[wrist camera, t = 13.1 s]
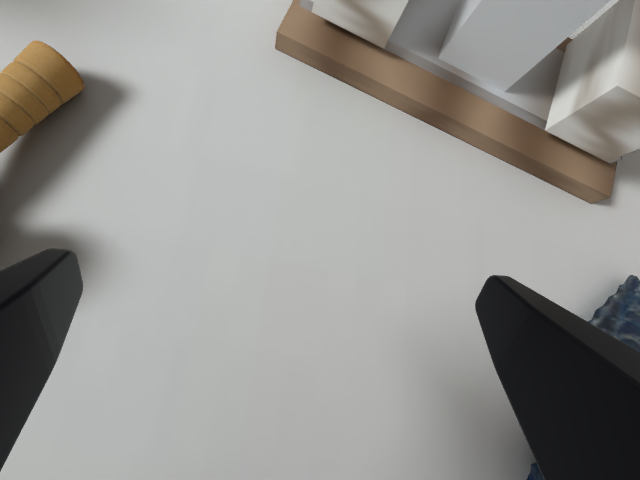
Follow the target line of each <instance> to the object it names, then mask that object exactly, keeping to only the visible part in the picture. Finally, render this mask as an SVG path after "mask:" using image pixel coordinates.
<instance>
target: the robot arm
mask: <svg viewBox="0 0 640 480" xmlns="http://www.w3.org/2000/svg"><path fill="white" fill-rule="evenodd" d="M82 291H83V281H82V277H81V273H80V268H79V264H78V260H77V256H76V254H75V253H74V252H73V251H72V250H67V249H47V250H45V251H42V252H40V253H38V254H36V255H34V256H32V257H29V258H27V259H25V260H23V261H21V262H19V263H16V264H14V265H12V266H10V267H8V268H6V269H3V270H1V271H0V471H1V469H2V467H3V465H4V463H5V461H6V459H7V457H8V456H9V454H10V452H11V450H12V448H13V446H14V444H15V442H16V440H17V438H18V436H19V434H20V432H21V430H22V428H23V426H24V424H25V423H26V421H27V419H28V417H29V415H30V413H31V411H32V409H33V407H34V405H35V403H36V401H37V399H38V397H39V395H40V393H41V391H42V390H43V388H44V386H45V384H46V382H47V380H48V378H49V376H50V374H51V372H52V370H53V368H54V366H55V364H56V361H57V359H58V356H59V354H60V351H61V349H62V346H63V343H64V341H65V338H66V335H67V333H68V330H69V327H70V325H71V322H72V319H73V316H74V314H75V311H76V308H77V306H78V303H79V300H80V298H81V295H82ZM475 308H476V313H477V316H478V319H479V322H480V325H481V328H482V331H483V334H484V337H485V340H486V343H487V346H488V349H489V352H490V355H491V358H492V361H493V364H494V367H495V369H496V372H497V374H498V376H499V379H500V381H501V383H502V385H503V388H504V390H505V392H506V394H507V397H508V399H509V401H510V404H511V406H512V408H513V410H514V413H515V415H516V417H517V419H518V422H519V424H520V426H521V428H522V431H523V433H524V435H525V437H526V440H527V442H528V444H529V446H530V449H531V451H532V453H533V455H534V458H535V460H536V462H537V464H538V467H539V469H540V471H541V473H542V476H543V478H544V480H640V352H639V351H637V350H635V349H634V348H632V347H630V346H629V345H627V344H625V343H623V342H622V341H620V340H618V339H616V338H615V337H613V336H611V335H609V334H608V333H606V332H604V331H602V330H601V329H599V328H597V327H596V326H594V325H592V324H590V323H589V322H587V321H585V320H583V319H582V318H580V317H578V316H576V315H575V314H573V313H571V312H570V311H568V310H566V309H564V308H563V307H561V306H559V305H557V304H556V303H554V302H552V301H550V300H549V299H547V298H545V297H544V296H542V295H540V294H538V293H537V292H535V291H533V290H531V289H530V288H528V287H526V286H524V285H523V284H521V283H519V282H517V281H516V280H514V279H512V278H511V277H508V276H498V275H493V276H490V277H489V278H488V279H487V280H486V282H485V284H484V286H483V288H482V290H481V292H480V294H479V296H478V298H477V300H476V303H475Z"/></svg>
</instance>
